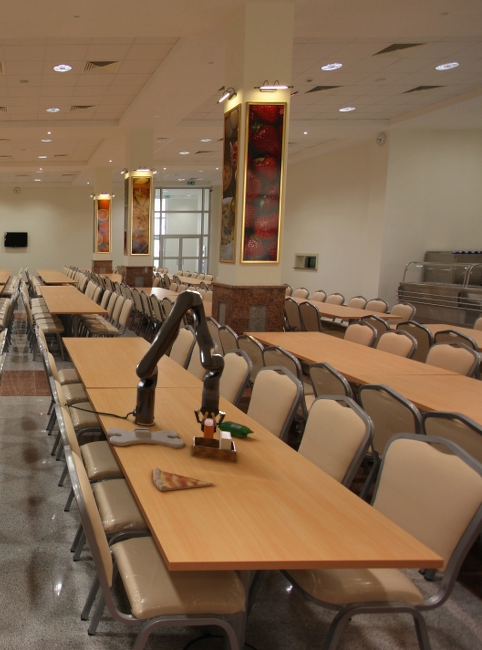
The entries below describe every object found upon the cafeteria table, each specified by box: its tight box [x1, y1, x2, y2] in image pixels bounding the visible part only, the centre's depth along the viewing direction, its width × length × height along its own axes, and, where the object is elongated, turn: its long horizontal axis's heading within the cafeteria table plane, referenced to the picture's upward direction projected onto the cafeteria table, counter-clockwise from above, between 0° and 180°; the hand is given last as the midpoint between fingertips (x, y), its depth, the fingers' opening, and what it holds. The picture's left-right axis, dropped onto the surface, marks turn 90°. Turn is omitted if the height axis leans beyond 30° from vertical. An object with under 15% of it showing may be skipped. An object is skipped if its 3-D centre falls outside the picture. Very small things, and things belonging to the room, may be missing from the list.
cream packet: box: [219, 430, 232, 450], centre depth 222 cm, size 4×9×9 cm, turn 160°
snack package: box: [217, 420, 255, 438], centre depth 248 cm, size 7×16×5 cm, turn 35°
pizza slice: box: [152, 467, 214, 492], centre depth 194 cm, size 16×22×2 cm
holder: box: [106, 427, 186, 449], centre depth 240 cm, size 19×34×5 cm, turn 86°
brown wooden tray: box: [192, 435, 237, 462], centre depth 224 cm, size 17×12×5 cm
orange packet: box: [202, 418, 215, 439], centre depth 237 cm, size 4×9×9 cm, turn 160°
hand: (208, 432), depth 237 cm, fingers closed on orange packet, 4 cm apart
